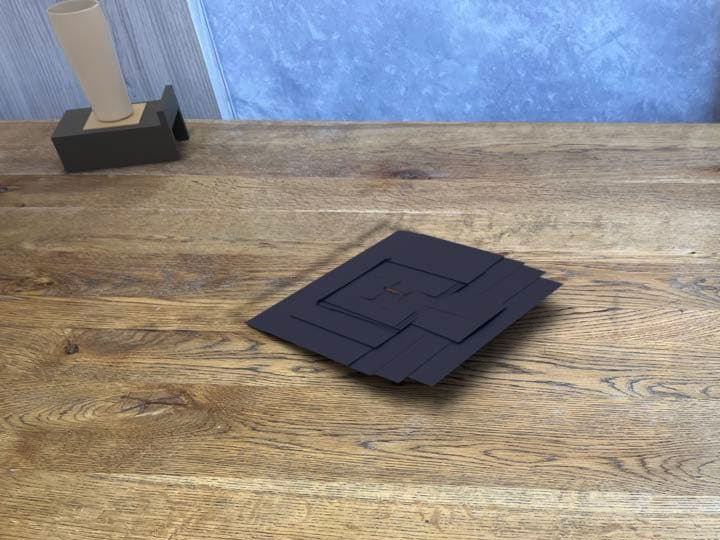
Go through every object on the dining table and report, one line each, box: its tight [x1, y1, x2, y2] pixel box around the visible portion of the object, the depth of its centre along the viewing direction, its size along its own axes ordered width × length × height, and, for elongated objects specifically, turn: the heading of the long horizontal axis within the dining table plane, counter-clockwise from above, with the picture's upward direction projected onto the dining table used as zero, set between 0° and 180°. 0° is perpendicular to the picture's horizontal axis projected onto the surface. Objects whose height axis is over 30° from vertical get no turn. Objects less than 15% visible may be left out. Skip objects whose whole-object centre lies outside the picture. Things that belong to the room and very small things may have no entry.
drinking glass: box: [45, 0, 133, 122], centre depth 114 cm, size 7×7×15 cm
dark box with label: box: [50, 84, 191, 174], centre depth 121 cm, size 16×10×8 cm, turn 102°
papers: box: [244, 229, 564, 387], centre depth 90 cm, size 24×30×4 cm
